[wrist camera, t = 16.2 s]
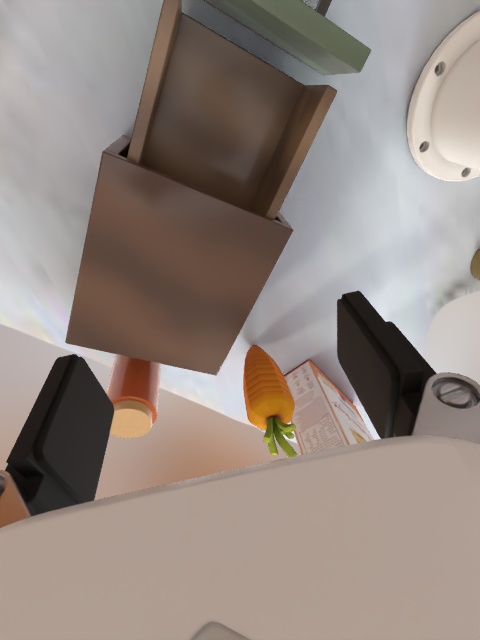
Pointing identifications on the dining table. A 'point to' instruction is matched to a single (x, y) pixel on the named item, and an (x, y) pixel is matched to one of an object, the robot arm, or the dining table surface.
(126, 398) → the spice jar
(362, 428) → the cracker box
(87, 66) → the dining table surface
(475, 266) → the cork
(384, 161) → the dining table surface
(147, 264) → the cabinet
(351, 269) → the dining table surface
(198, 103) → the drawer
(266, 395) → the carrot
